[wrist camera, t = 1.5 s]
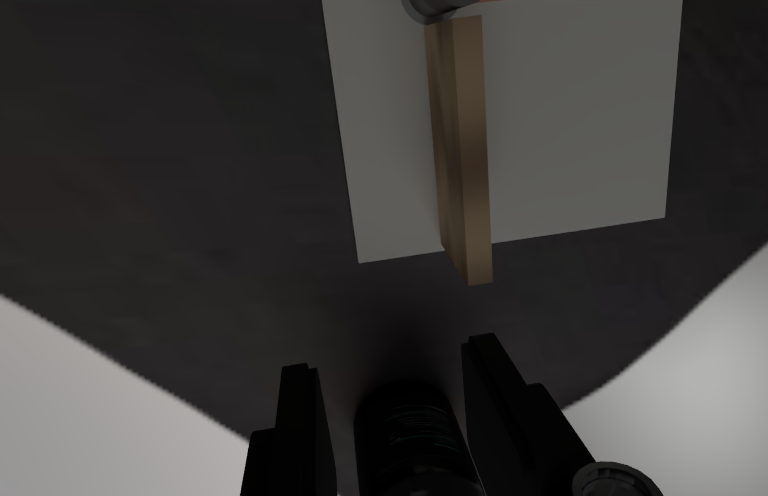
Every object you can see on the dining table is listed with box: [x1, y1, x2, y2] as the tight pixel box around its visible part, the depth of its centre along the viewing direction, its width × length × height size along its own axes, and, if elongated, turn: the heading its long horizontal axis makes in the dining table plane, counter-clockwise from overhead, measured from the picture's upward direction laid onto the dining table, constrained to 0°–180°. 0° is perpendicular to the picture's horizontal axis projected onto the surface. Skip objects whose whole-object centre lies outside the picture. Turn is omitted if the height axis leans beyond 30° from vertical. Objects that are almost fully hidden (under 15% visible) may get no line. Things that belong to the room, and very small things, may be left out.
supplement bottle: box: [354, 380, 485, 496], centre depth 30 cm, size 7×7×12 cm
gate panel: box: [424, 15, 493, 286], centre depth 26 cm, size 12×1×6 cm, turn 7°
